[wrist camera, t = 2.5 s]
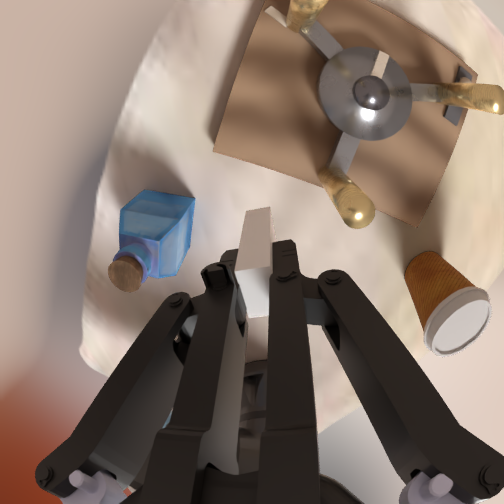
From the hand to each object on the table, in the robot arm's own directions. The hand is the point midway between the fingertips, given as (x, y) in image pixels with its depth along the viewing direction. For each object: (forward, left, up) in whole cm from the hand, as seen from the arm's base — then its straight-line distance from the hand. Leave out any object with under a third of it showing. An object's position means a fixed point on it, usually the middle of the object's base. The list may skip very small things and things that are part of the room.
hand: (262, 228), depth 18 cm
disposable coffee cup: (-4, -25, -13) cm, 28 cm away
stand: (+12, -6, -13) cm, 18 cm away
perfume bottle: (-8, +9, -13) cm, 18 cm away
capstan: (+10, -6, -11) cm, 15 cm away
